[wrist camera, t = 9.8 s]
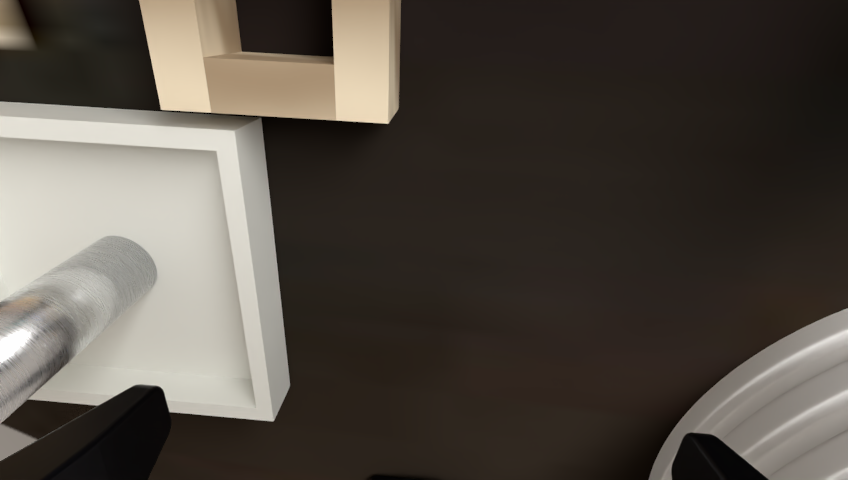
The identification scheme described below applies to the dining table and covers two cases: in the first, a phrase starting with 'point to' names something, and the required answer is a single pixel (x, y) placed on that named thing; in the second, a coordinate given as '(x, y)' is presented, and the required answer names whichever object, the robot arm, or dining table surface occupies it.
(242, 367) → the tray
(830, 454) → the plate stack
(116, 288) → the pin
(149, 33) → the square wooden frame
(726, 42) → the dining table surface
